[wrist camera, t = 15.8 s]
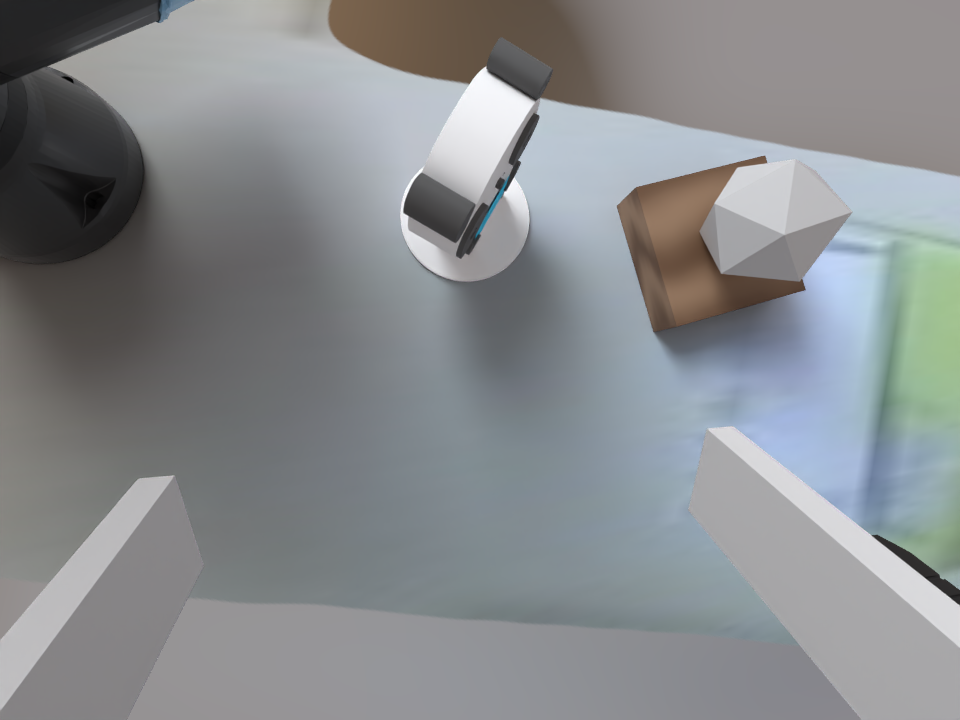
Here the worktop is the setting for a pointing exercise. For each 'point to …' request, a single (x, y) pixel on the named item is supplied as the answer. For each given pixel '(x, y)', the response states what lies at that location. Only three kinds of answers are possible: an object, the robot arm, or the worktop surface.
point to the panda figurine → (477, 173)
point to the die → (773, 221)
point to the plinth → (687, 251)
